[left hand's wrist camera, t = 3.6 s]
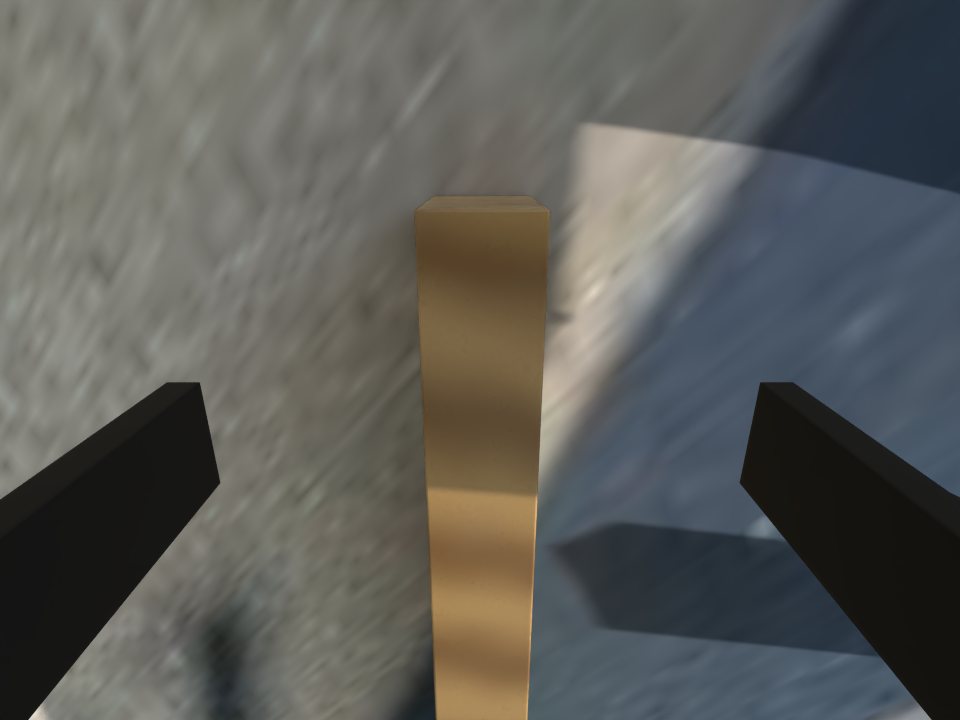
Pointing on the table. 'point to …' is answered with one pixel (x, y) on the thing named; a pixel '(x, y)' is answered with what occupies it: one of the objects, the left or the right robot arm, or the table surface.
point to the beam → (481, 441)
